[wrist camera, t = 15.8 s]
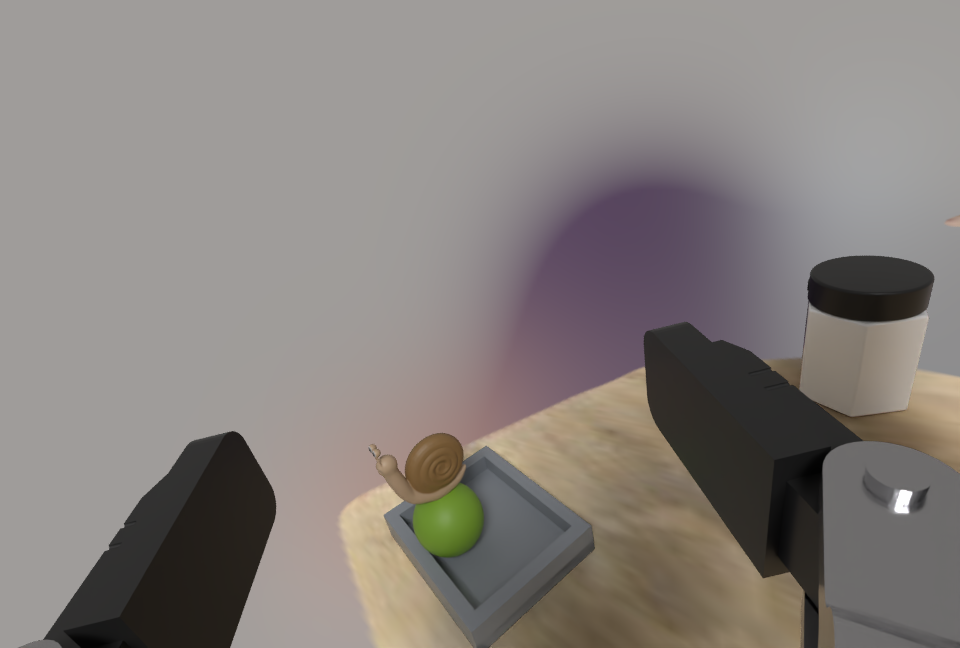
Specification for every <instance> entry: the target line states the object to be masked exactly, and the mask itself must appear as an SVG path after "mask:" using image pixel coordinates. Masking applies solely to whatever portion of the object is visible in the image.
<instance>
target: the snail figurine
mask: <svg viewBox="0 0 960 648" xmlns="http://www.w3.org/2000/svg"><path fill="white" fill-rule="evenodd" d="M369 451H370V452H371V453H372V454H373V456H374V457H375V459H376V460H377V464H376V469H377V470H378V472H379V474H380V475H382V476H383V477H384V478H385V479H386V481H387V483H388V484H389V486H390V487H391V488H392V489H393V490H394V492H395V493H396V494H397V495H398V496H399V497H400V498H402V499H403V500H405V501H406V502H408V503H411V504H416V506H415V509H414V513H413V528H414V532H415V535H416V537H417V539H418V541H419V542H420V544H421V545H422V546H423V547H424V548H425V549H426V550H427V551H428V552H430V553H432V554H433V555H436V556H439V557H445V558H450V557H456V556H459V555H462V554H464V553H465V552H467V551H468V550H470V549H471V548H472V547H473V546H474V545H475V543H476V542H477V540H478V539H479V537H480V535H481V532H482V529H483V524H484V512H483V508H482V504H481V502H480V500H479V498H478V497H477V495H476V494H475V493H474V491H473V490H471V489H470V488H469V487H468V486H466V485H464V484H462V483H459V482H460V481H461V479H462V477H463V475H464V473H465V470H466V465H465V464H462V463H463V456H464V454H463V448H462V446H461V444H460V442H459V441H458V440H457V439H456V438H455V437H454V436H452V435H449V434H445V433H437V434H433V435H430V436H428V437H426V438H424V439H423V440H421V441H420V442H419V443H418V444H416V446H415V447H414V448H413V449H412V451H411V452H410V454H409V456H408V458H407V461H406V465H405V476H406V478H405V477H404V476H403V475H402V473H401V472H400V471H399V469H398V468H397V460H396V459H395V457H393V456H392V455H384V456H382V457H380V458H379V459H378V457H379V456H380V450H379V449H377V447H376V445H374V444H371V445H370V446H369ZM376 457H377V458H376Z"/></svg>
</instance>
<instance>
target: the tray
mask: <svg viewBox="0 0 960 648" xmlns="http://www.w3.org/2000/svg"><path fill="white" fill-rule="evenodd" d="M462 464H465V465H466V470H465V473H464V475H463V477H462V479H461V481H460V482H459V483H462V484H464V485H466V486H468V487H469V488H470V489H471V490H473V491H474V493H475V494H476V495H477V497H478V498H479V500H480V502H481V504H482V508H483V512H484V524H483V529H482V532H481V535H480V537H479V539H478V540H477V542H476V543H475V545H474V546H473V547H472V548H471V549H470V550H468V551H467V552H465V553H464V554H462V555H459V556H456V557H450V558H445V557H439V556H436V555H433V554H432V553H430V552H428V551H427V550H426V549H425V548H424V547H423V546H422V545H421V544H420V542H419V541H418V539H417V537H416V535H415V532H414V528H413V513H414V509H415V506H416V504H411V503H408V502H406V501H404V502H402V503H401V504H399V505H398V506H396V507H395V508H393V509H392V510H390V511H389V512H387V513H386V514H385V515H384V518H385V520H386V523H387V525H388V527H389V530H390V532H391V535H392V536H393V538H394V539H395V540H396V542H397V543H398V545H399V546H400V547H401V549H402V550H403V551H404V553H405V554H406V556H407V557H408V558H409V560H410V561H411V562H412V564H413V565H414V566H415V568H416V569H417V571H418V572H419V573H420V575H421V576H422V577H423V579H424V580H425V582H426V583H427V584H428V586H429V587H430V588H431V590H432V591H433V592H434V594H435V595H436V597H437V598H438V599H439V601H440V602H441V603H442V605H443V606H444V608H445V609H446V610H447V612H448V613H449V614H450V616H451V617H452V618H453V620H454V621H455V623H456V624H457V625H458V627H459V628H460V629H461V631H462V632H463V634H464V635H465V636H466V638H467V639H468V640H469V642H470V643H471V644H472V646H473V647H474V648H488V647H490V646H491V645H492V644H493V643H494V642H495V641H496V640H497V639H498V638H499V637H500V636H501V635H502V634H504V633H505V632H506V631H507V630H508V629H509V628H510V627H511V626H512V625H513V624H514V623H515V622H516V621H517V620H519V619H520V618H521V617H522V616H523V615H524V614H525V613H526V612H527V611H528V610H529V609H530V608H531V607H533V606H534V605H535V604H536V603H537V602H538V601H539V600H540V599H541V598H542V597H543V596H544V595H545V594H547V593H548V592H549V591H550V590H551V589H552V588H553V587H554V586H555V585H556V584H557V583H558V582H559V581H561V580H562V579H563V578H564V577H565V576H566V575H567V574H568V573H569V572H570V571H571V570H572V569H573V568H574V567H576V566H577V565H578V564H579V563H580V562H581V561H582V560H583V559H584V558H585V557H586V556H587V555H588V554H590V553H591V552H592V551H593V550H594V549H595V547H594V540H593V533H592V526H591V525H590V524H588V523H587V522H586V521H585V520H583V519H582V518H581V517H579V516H578V515H577V514H575V513H574V512H573V511H571V510H570V509H569V508H567V507H566V506H565V505H563V504H562V503H561V502H560V501H558V500H557V499H556V498H554V497H553V496H552V495H550V494H549V493H548V492H546V491H545V490H544V489H542V488H541V487H540V486H539V485H537V484H536V483H535V482H533V481H532V480H531V479H529V478H528V477H527V476H525V475H524V474H523V473H521V472H520V471H519V470H517V469H516V468H515V467H514V466H512V465H511V464H510V463H508V462H507V461H506V460H504V459H503V458H502V457H500V456H499V455H498V454H496V453H495V452H494V451H493V450H491V449H490V448H489V447H487V446H485V447H484V448H482V449H481V450H479V451H478V452H476V453H475V454H473V455H472V456H470V457H469V458H467V459H466V460H464V461H463V463H462Z"/></svg>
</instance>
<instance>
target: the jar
mask: <svg viewBox="0 0 960 648" xmlns="http://www.w3.org/2000/svg"><path fill="white" fill-rule="evenodd" d="M933 283H934V275H933V273H932V272H931V271H930V270H929V269H927V268H926V267H924V266H922V265H920V264H917V263H914V262H911V261H908V260H903V259H899V258H892V257H884V256H849V257H841V258H835V259H831V260H827V261H825V262H822V263H820V264H818V265H816V266H815V267H814V268H813V269H812V270H811V272H810V278H809V281H808V289H807V290H808V300H809V301H808V309H807V318H806V328H805V337H804V346H803V355H802V364H801V374H800V386H799V390H800V391H801V392H802V393H804V394H805V395H806V396H807V397H809V398H810V399H811V400H812V401H814V402H817V403H819V404H821V405H824V406H826V407H828V408H831V409H833V410H835V411H838V412H840V413H842V414H845V415H847V416H849V417H856V416H864V415H871V414H879V413H887V412H895V411H903V410H906V409H907V408H908V403H909V399H910V395H911V391H912V387H913V382H914V378H915V374H916V370H917V366H918V361H919V357H920V353H921V348H922V345H923V340H924V336H925V331H926V328H927V324H928V319H929V315H928V312H927V307H928V304H929V300H930V296H931V292H932V287H933Z"/></svg>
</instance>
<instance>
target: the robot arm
mask: <svg viewBox="0 0 960 648" xmlns="http://www.w3.org/2000/svg"><path fill="white" fill-rule="evenodd" d="M644 354H645V369H646V384H647V398H648V403H649V407H650V411H651V414H652V416H653V419H654V421H655V423H656V425H657V427H658V428H659V430H660V431H661V433H662V434H663V436H664V437H665V438H666V440H667V441H668V443H669V444H670V446H671V447H672V448H673V450H674V451H675V453H676V454H677V456H678V457H679V458H680V460H681V461H682V463H683V464H684V466H685V467H686V468H687V470H688V471H689V473H690V474H691V476H692V477H693V479H694V480H695V481H696V483H697V484H698V486H699V487H700V489H701V490H702V491H703V493H704V494H705V496H706V497H707V499H708V500H709V501H710V503H711V504H712V506H713V507H714V509H715V510H716V511H717V513H718V514H719V516H720V517H721V519H722V520H723V521H724V523H725V524H726V526H727V527H728V529H729V530H730V532H731V533H732V534H733V536H734V537H735V539H736V540H737V542H738V543H739V544H740V546H741V547H742V549H743V550H744V552H745V553H746V554H747V556H748V557H749V559H750V560H751V562H752V563H753V564H754V566H755V567H756V569H757V570H758V572H759V573H760V574H761V576H762V577H763V578H766V577H771V576H775V575H779V574H783V573H787V572H790V573H791V574H792V575H793V577H794V578H795V579H796V581H797V582H798V583H799V584H800V586H801V587H802V588H803V594H802V601H801V647H800V648H960V474H959V473H958V472H956V471H955V470H954V469H952V468H951V467H950V466H948V465H946V464H945V463H943V462H941V461H940V460H938V459H936V458H934V457H932V456H929V455H927V454H925V453H922V452H920V451H917V450H915V449H911V448H908V447H905V446H901V445H896V444H892V443H886V442H877V441H863V440H862V439H860V438H859V437H858V436H856V435H855V434H854V433H853V432H851V431H850V430H849V429H848V428H846V427H845V426H844V425H843V424H841V423H840V422H839V421H838V420H836V419H835V418H834V417H833V416H831V415H830V414H829V413H827V412H826V411H825V410H824V409H822V408H821V407H820V406H819V405H817V404H816V403H815V402H814V401H812V400H811V399H810V398H809V397H807V396H806V395H805V394H804V393H802V392H801V391H800V390H798V389H797V388H796V387H795V386H793V385H791V386H790V385H789V383H788V381H787V380H786V379H785V378H783V377H782V376H781V375H780V374H778V373H777V372H776V371H772V370H771V367H769V366H768V365H767V364H766V363H764V362H763V361H762V360H761V359H759V358H758V357H757V356H756V355H754V354H753V353H752V352H750V351H749V350H746V349H743V348H741V347H738V346H736V345H733V344H730V343H728V342H726V341H723V340H720V341H716V342H711V341H710V340H708V339H707V338H706V337H705V336H704V335H702V333H700V332H699V331H698V330H697V329H696V328H695V327H693V326H692V325H691V324H690V323H688V322H683V323H678V324H674V325H670V326H666V327H662V328H658V329H654V330H650V331H647V332H646V333H645V336H644ZM275 515H276V500H275V495H274V491H273V489H272V487H271V485H270V483H269V481H268V479H267V478H266V476H265V474H264V473H263V471H262V469H261V467H260V466H259V464H258V462H257V460H256V459H255V457H254V455H253V454H252V452H251V450H250V448H249V447H248V445H247V443H246V441H245V440H244V438H243V437H242V436H241V435H240V434H239V433H237V432H234V431H232V432H227V433H223V434H219V435H215V436H211V437H206V438H203V439H199V440H194V441H192V442H190V443H189V444H188V445H187V446H186V448H185V449H184V451H183V452H182V454H181V455H180V457H179V458H178V460H177V461H176V463H175V464H174V466H173V467H172V469H171V470H170V472H169V473H168V474H167V475H166V476H165V477H164V478H163V479H162V480H161V481H159V482H158V484H156V485H155V486H154V487H153V488H152V489H151V490H150V491H149V492H148V493H147V494H146V495H144V497H142V498H141V500H140V501H139V503H138V504H137V506H136V507H135V508H134V510H133V511H132V513H131V514H130V516H129V517H128V519H127V520H126V522H125V523H124V525H125V527H124V528H122V529H120V530H119V532H118V533H117V534H116V536H115V537H114V539H113V540H112V542H111V543H110V544H109V550H108V551H105V552H104V553H103V555H102V556H101V557H100V559H99V560H98V562H97V563H96V565H95V566H94V567H93V569H92V570H91V572H90V573H89V575H88V576H87V578H86V579H85V580H84V582H83V583H82V585H81V586H80V588H79V589H78V591H77V592H76V593H75V595H74V596H73V598H72V599H71V601H70V602H69V603H68V605H67V606H66V608H65V609H64V611H63V612H62V614H61V615H60V616H59V618H58V619H57V621H56V622H55V623H54V625H53V626H52V628H51V629H50V631H49V632H48V634H47V635H46V637H45V638H44V639H43V640H39V641H35V642H32V643H29V644H26V645H24V646H21V647H19V648H230V646H231V644H232V641H233V638H234V635H235V632H236V629H237V626H238V623H239V621H240V618H241V615H242V612H243V609H244V606H245V603H246V600H247V598H248V595H249V592H250V589H251V586H252V583H253V580H254V578H255V575H256V572H257V569H258V566H259V563H260V560H261V558H262V555H263V552H264V549H265V546H266V543H267V540H268V538H269V534H270V532H271V529H272V526H273V523H274V520H275Z"/></svg>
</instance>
